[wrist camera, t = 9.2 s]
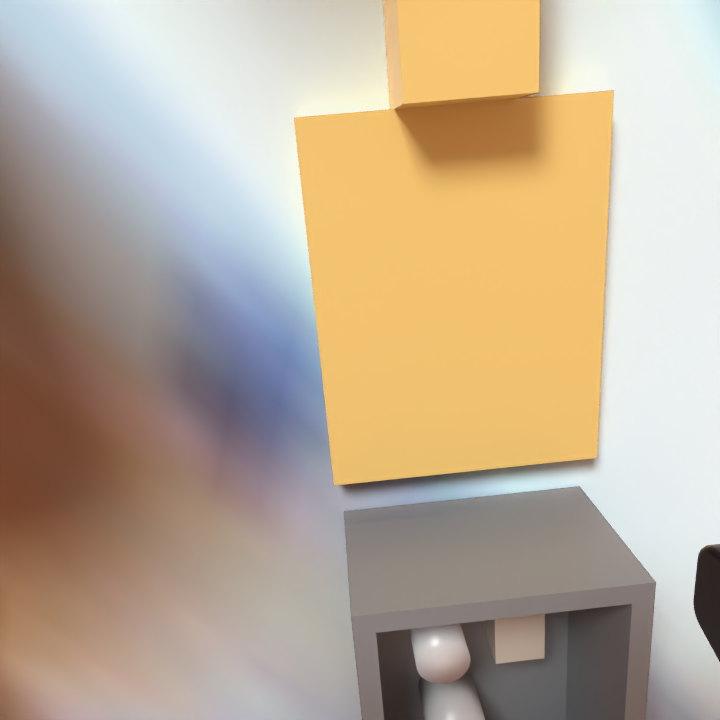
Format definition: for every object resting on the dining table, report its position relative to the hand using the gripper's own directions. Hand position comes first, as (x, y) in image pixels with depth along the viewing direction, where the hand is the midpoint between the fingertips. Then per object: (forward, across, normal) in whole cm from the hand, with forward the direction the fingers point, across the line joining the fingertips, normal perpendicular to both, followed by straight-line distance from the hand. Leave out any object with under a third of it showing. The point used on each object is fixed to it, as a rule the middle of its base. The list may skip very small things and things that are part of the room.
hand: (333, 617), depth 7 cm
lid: (+12, -4, -3) cm, 13 cm away
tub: (+12, -4, +11) cm, 17 cm away
